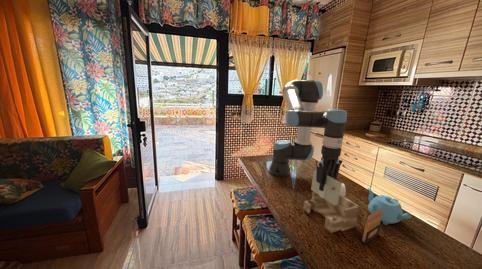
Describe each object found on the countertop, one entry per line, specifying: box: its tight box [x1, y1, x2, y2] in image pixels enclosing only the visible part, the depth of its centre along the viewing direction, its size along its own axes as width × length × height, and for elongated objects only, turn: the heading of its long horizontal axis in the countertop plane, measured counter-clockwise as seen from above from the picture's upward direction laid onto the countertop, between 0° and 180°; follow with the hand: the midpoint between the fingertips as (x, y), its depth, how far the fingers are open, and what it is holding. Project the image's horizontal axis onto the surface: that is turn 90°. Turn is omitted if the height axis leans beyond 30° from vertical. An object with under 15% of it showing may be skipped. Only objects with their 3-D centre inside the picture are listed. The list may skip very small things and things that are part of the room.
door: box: [310, 169, 343, 205], centre depth 84 cm, size 14×3×10 cm, turn 23°
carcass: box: [302, 191, 361, 234], centre depth 89 cm, size 19×14×10 cm
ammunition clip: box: [360, 209, 382, 244], centre depth 77 cm, size 11×2×12 cm, turn 121°
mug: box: [340, 182, 347, 198], centre depth 110 cm, size 12×10×8 cm
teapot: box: [367, 187, 413, 226], centre depth 89 cm, size 15×14×11 cm
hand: (323, 196), depth 85 cm, fingers closed on door, 2 cm apart
